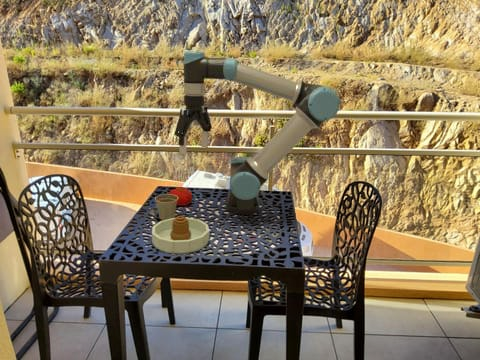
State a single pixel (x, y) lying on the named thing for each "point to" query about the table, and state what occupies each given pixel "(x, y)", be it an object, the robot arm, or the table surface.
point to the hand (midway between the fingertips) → (194, 150)
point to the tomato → (182, 196)
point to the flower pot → (166, 206)
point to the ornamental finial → (180, 229)
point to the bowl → (167, 244)
